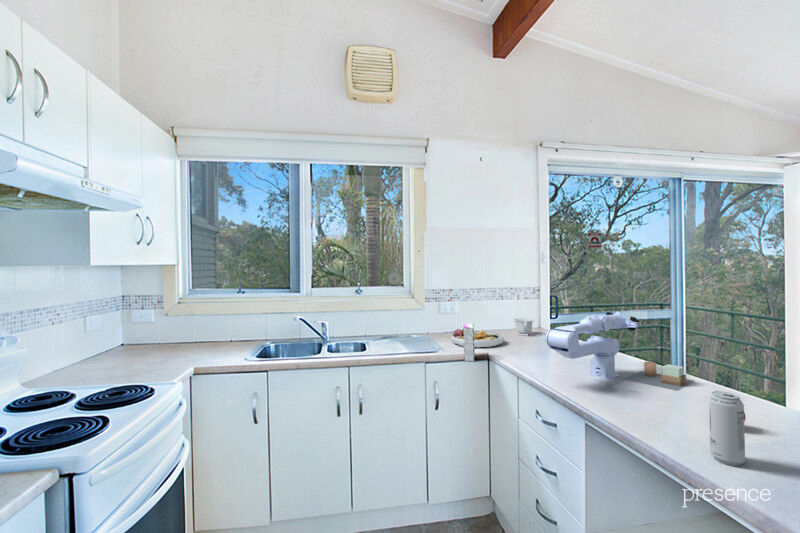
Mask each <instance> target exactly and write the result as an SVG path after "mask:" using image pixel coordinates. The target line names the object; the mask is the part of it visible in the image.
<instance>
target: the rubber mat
mask: <svg viewBox="0 0 800 533" xmlns="http://www.w3.org/2000/svg"><path fill="white" fill-rule="evenodd" d="M656 373H657V376H656V377H649V376H645V375H644V370H639V371H637V372H634V373H632V374H631V375H628V376H626V377H624V378H622V380H624V381H629V382H633V383H639V384H643V385H644V384H645V385H647V386H652V387H658V388H660V389H661V388H662V389H666V390H671V391H677V392H678V391H680V390H682V389H683V388H685V387H687V386H688V385H690V384H692V383H694V382H695V379H690V378H686V383H685V384H684V385H682V386H675V385H670V384H666V383H661V374H662V373H658V372H656Z"/></svg>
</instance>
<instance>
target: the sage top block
mask: <svg viewBox="0 0 800 533" xmlns="http://www.w3.org/2000/svg"><path fill="white" fill-rule="evenodd" d="M684 368H685V367H684V366H681V365H675V364H669V363H667V364H665V365H663V366H662V374H663V375H668V376H673V377H678V378H679V377H681V376H683V375H685V369H684Z"/></svg>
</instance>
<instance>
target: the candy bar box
mask: <svg viewBox="0 0 800 533" xmlns="http://www.w3.org/2000/svg"><path fill="white" fill-rule="evenodd" d="M474 325H475V324H474V323H464V324H463V329H464V347H463V352H464V354H463V355H464V356H463V357H464V362H475V356H476V355H475V348H474V331H475V330H474V329H475V326H474ZM463 329H462V330H463Z"/></svg>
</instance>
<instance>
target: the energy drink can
mask: <svg viewBox="0 0 800 533" xmlns="http://www.w3.org/2000/svg"><path fill="white" fill-rule="evenodd" d="M708 411H709V412H708V414H709V415H708V417H709V418H708V419H709V453H710V454H711V455H712V457H713V459H714V460H716V461H717V462H719V463H721V464H724V465H727V466H733V467H739V466H742V465H743V463H745V462H746V445H745V444H746V442H745V439H746V438H745V437H746V436H745V422H744V413H745V405H744V402H743V401H742V400H741V396H740V395H738V394H736V393H733V392H727V391H724V390H723V391H718V390H717V391H716V390H715V391H712V392H711V396H709V398H708Z"/></svg>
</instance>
